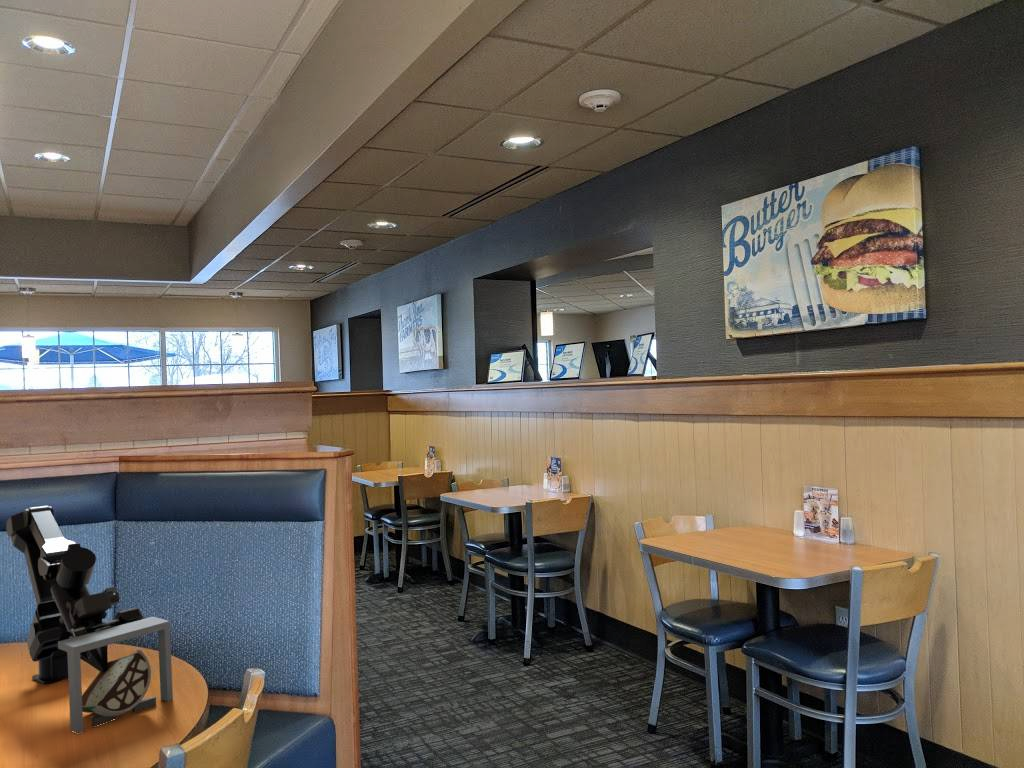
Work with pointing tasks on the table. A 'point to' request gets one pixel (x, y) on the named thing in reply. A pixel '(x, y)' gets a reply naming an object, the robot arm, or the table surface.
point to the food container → (118, 686)
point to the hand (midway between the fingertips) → (104, 670)
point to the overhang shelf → (109, 637)
